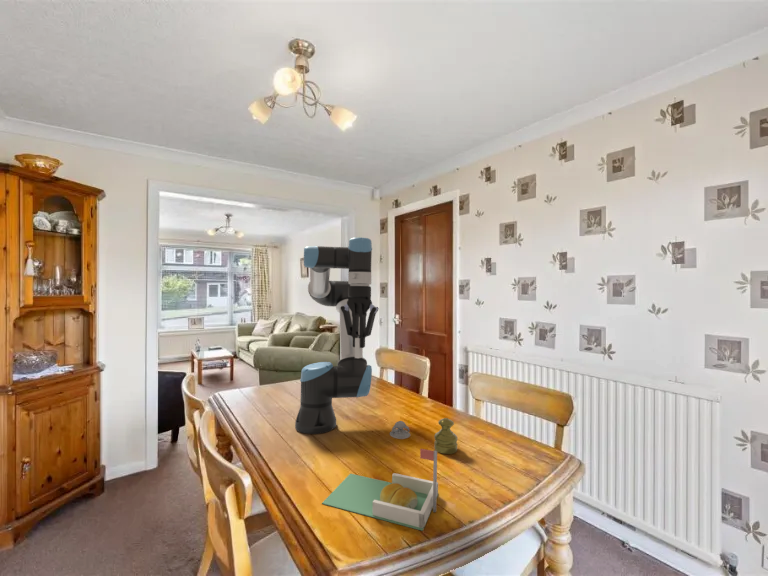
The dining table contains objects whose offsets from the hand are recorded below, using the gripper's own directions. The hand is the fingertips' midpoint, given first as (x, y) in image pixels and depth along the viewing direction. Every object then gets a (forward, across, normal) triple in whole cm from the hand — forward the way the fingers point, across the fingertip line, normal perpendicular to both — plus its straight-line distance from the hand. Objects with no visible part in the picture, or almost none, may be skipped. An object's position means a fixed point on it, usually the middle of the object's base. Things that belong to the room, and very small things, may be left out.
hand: (358, 357), depth 117 cm
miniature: (+30, +9, +16) cm, 35 cm away
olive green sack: (+30, +27, +10) cm, 41 cm away
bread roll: (+29, +23, -24) cm, 44 cm away
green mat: (+29, +18, -24) cm, 42 cm away
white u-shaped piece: (+29, +25, -24) cm, 45 cm away
